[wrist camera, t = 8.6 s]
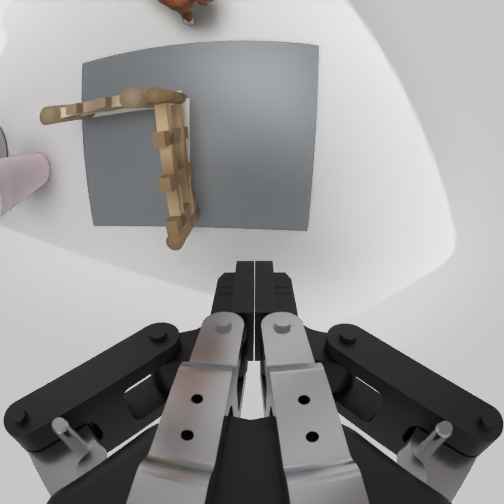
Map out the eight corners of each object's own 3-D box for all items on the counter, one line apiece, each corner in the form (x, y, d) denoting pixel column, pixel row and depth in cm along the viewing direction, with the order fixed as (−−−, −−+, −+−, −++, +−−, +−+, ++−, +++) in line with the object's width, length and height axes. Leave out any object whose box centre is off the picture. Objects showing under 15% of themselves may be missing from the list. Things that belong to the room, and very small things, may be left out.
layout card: (95, 224, 27) (93, 225, 26) (84, 63, 19) (82, 63, 19) (306, 229, 26) (307, 230, 26) (317, 46, 19) (318, 45, 18)
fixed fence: (84, 119, 21) (40, 126, 16) (84, 105, 21) (39, 108, 15) (169, 107, 21) (138, 106, 15) (170, 91, 21) (138, 85, 15)
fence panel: (172, 93, 20) (143, 89, 15) (186, 91, 20) (161, 85, 15) (187, 219, 25) (168, 250, 20) (200, 218, 25) (184, 249, 20)
